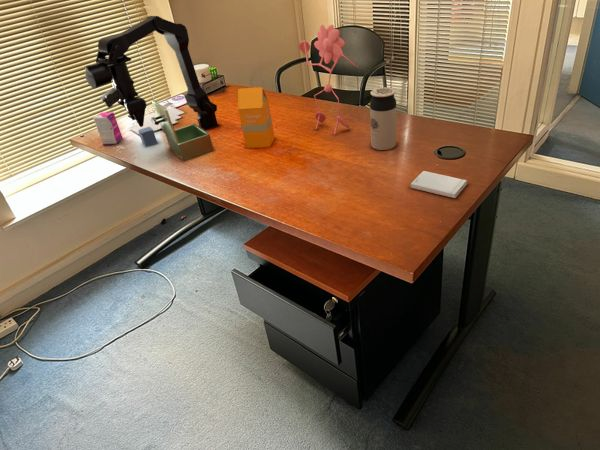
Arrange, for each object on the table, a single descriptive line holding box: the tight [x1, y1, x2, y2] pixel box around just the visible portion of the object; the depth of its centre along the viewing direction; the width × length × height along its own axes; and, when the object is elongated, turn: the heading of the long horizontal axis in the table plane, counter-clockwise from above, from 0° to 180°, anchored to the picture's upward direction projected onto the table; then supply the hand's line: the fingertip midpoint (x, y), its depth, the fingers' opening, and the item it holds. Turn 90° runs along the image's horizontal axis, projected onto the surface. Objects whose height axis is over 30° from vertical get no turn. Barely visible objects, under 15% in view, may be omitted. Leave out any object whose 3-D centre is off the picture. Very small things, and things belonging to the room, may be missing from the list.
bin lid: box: [151, 99, 179, 144], centre depth 151 cm, size 12×15×4 cm
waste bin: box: [165, 123, 214, 162], centre depth 160 cm, size 12×15×6 cm
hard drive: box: [410, 170, 468, 199], centre depth 119 cm, size 2×8×12 cm
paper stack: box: [128, 106, 186, 136], centre depth 191 cm, size 23×25×1 cm
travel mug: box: [369, 86, 397, 151], centre depth 139 cm, size 8×8×18 cm
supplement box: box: [93, 111, 124, 146], centre depth 174 cm, size 6×6×12 cm
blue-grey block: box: [138, 127, 158, 148], centre depth 170 cm, size 5×5×6 cm
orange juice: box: [237, 86, 275, 149], centre depth 153 cm, size 8×9×20 cm
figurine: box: [298, 24, 359, 139], centre depth 153 cm, size 15×26×35 cm, turn 45°
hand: (137, 123), depth 154 cm, fingers open, 9 cm apart
